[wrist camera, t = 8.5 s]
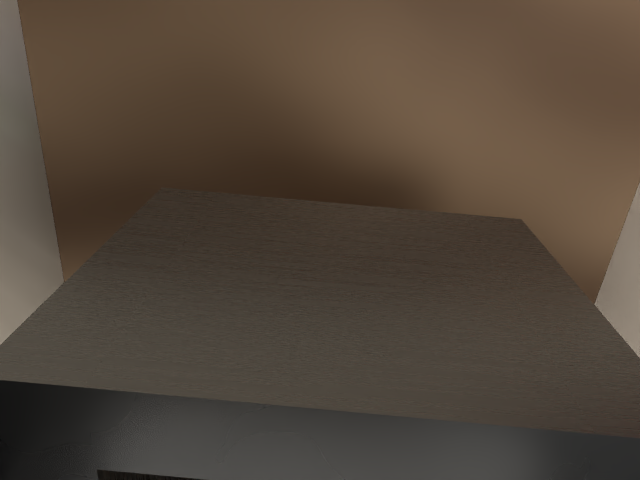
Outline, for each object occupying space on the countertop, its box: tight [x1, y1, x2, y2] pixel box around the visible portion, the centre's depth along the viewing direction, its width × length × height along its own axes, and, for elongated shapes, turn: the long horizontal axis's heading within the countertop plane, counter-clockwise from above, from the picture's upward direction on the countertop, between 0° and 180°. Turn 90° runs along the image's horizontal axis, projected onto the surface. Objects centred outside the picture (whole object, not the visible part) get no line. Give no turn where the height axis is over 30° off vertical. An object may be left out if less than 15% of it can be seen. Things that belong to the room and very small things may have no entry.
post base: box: [17, 0, 640, 304], centre depth 13 cm, size 16×16×6 cm
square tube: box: [0, 188, 640, 480], centre depth 8 cm, size 6×6×5 cm
